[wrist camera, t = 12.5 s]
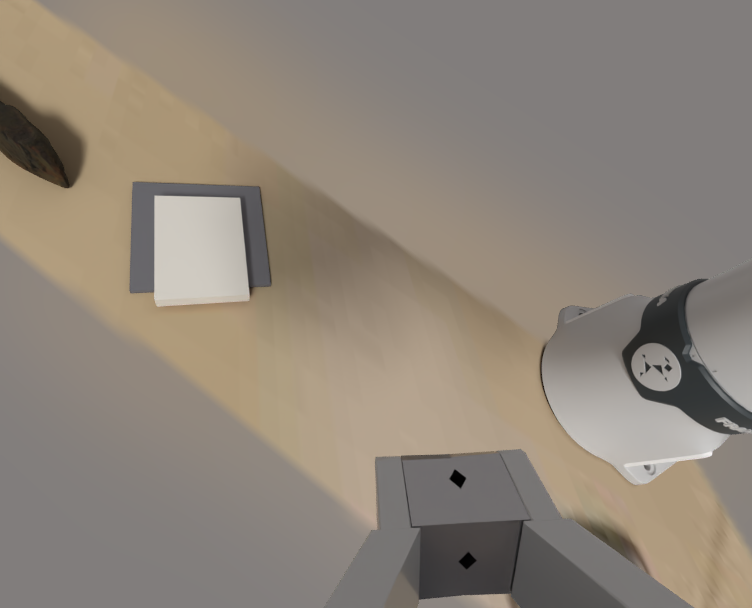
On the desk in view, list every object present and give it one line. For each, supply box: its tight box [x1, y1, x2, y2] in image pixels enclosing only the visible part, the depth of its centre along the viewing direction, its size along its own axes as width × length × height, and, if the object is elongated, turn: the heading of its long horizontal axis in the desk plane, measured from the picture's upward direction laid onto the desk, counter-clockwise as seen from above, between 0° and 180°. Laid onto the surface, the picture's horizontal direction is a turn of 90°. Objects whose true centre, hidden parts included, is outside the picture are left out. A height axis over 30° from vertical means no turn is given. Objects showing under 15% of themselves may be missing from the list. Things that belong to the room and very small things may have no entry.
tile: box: [154, 196, 250, 307], centre depth 34 cm, size 7×2×10 cm
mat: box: [130, 182, 271, 293], centre depth 36 cm, size 11×11×1 cm
